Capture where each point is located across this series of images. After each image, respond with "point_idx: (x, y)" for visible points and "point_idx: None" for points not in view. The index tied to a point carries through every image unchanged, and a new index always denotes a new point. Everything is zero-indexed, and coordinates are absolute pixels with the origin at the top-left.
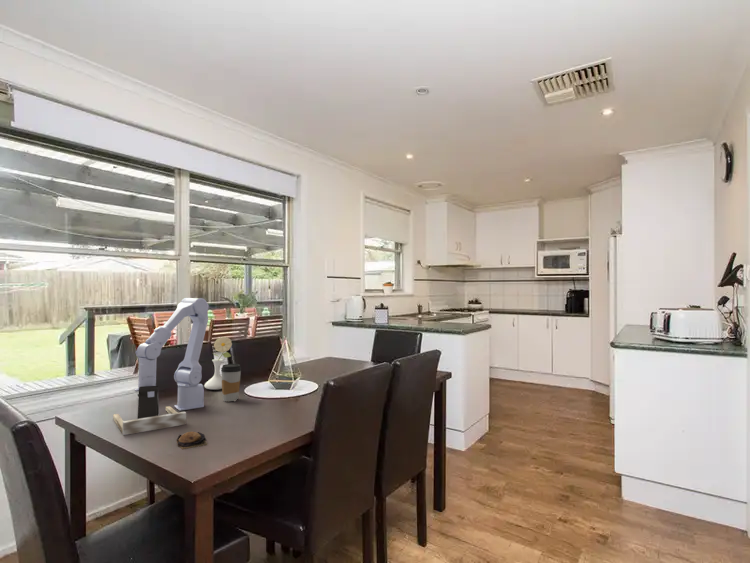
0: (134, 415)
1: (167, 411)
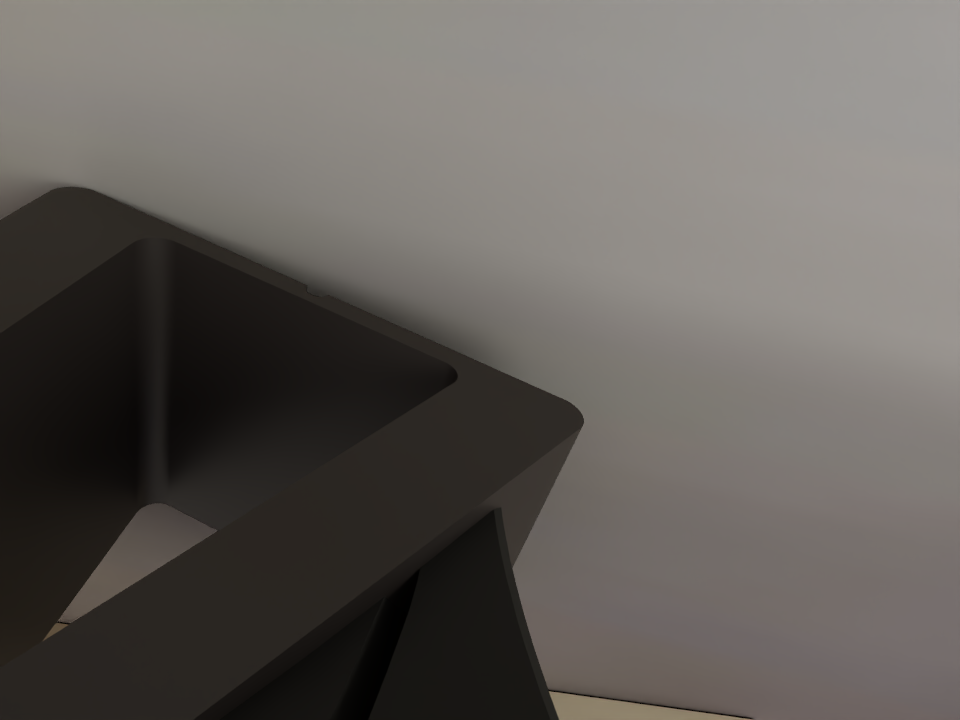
0: (919, 305)
1: (629, 716)
